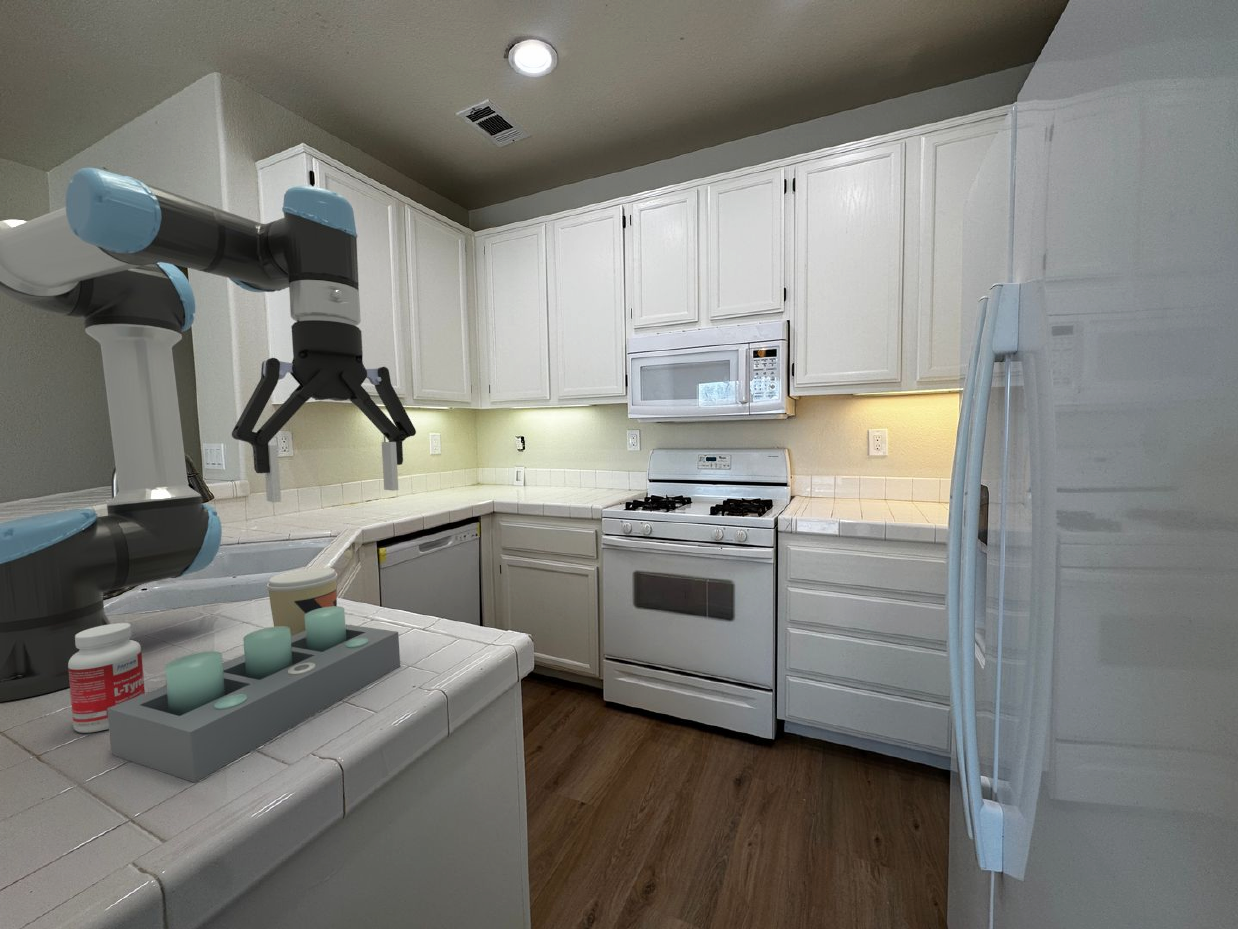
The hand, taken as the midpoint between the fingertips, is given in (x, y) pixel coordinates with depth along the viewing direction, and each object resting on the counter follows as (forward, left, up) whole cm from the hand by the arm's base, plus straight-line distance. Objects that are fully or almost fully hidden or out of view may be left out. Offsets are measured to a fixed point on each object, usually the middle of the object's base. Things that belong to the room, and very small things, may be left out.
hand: (337, 495), depth 64 cm
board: (-7, -5, -26) cm, 27 cm away
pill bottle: (-23, -14, -26) cm, 37 cm away
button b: (-8, -5, -22) cm, 24 cm away
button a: (-8, -13, -22) cm, 26 cm away
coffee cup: (-18, +8, -26) cm, 33 cm away
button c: (-8, +3, -22) cm, 23 cm away
